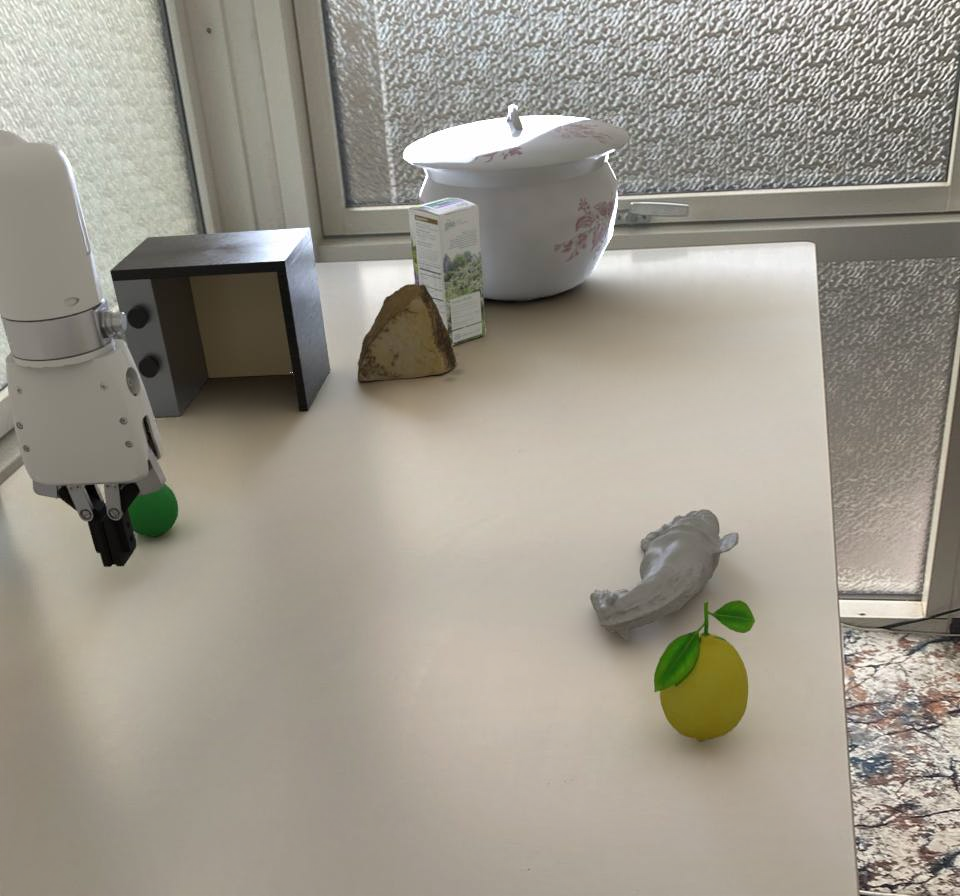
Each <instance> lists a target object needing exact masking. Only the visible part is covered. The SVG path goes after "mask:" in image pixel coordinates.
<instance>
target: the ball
mask: <svg viewBox="0 0 960 896" xmlns="http://www.w3.org/2000/svg"><path fill="white" fill-rule="evenodd" d="M128 512H129V516H130V520H131V524H132V527H133V531H134V533H136V534H137V535H139V536H143V537H150V538H152V537H153V538H154V537H158V536H162V535H164V534H166V533H167V532H169V530H171V529H172V528H173V526H174V525H175V523H176V521H177V519H178V515H179V502H178V499H177V496H176V495H175V493H174V490H172V489H171V487H169V485H168V484H166V483H165V484H164V485H163V487H162V488H161V489H160V490H159V491H156V492H153V493H149V494H146V495H143V496H142V495H141V496H138V497H136V498H135V500H134V501H133V502H132V504H131V505H130V506H129V508H128Z"/></svg>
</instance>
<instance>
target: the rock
mask: <svg viewBox="0 0 960 896" xmlns="http://www.w3.org/2000/svg"><path fill="white" fill-rule="evenodd" d="M453 347H454V346H452V344H451V339H450V335H449V332H448V330H447V329H446V327H445V325H444V323H443V320H442V317H441V316H440V313H439V311H438V308H437V306H436V304H435V303H434V301H433V298H432V296H431V295H430V294H429V292H428V291H427V289H426V286H425V285H419V286H416V285H415V283H412V284H411V283H410V284H405V285H404V286H401V287H400V288H399V289H398V290H395V291H394V292H393V293H391V294H390V295H387V296H386V297H385V298H384V300H383V303H382V306H381V308H380V310H379V311H378V314H377V315H376V317H375V319H374V322H373V323H372V325H371V327H370V330H369V331H368V332H367V333H366V334H365V335H364V337H363V340H362V343H361V348H360V349H361V350H360V355H359V357H358V361H357V367H358V368H357V380H358V382H370V381H371V382H372V381H392V380H399V379H414V378H421V377H427V376H435V375H441V374H446V373H447V372H448V371H450V370H452V369H453V368H455V366H456V364H457V363H458V359H457V357H456V354H455V349H454V348H453Z"/></svg>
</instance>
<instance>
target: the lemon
mask: <svg viewBox="0 0 960 896" xmlns="http://www.w3.org/2000/svg"><path fill="white" fill-rule="evenodd" d="M709 615H710V616H712V617H714V618H715V619H716V620H717V621H718V622H719V623H720V624H722V625H723V626H725V627H726V629H728V630H730V631H733V632H736V633H738V634H739V633H740V634H746V633H748V632H750V631H751V630H752V628H753V627H754V624H755V623H756V620H755V616H754V614H753V612H752V610H751V608H750V606H749V605H748V604H747V603H746V602H745V601H743V600H741V599H738V600H737V599H736V600H732V601H729V602H726V603H725V604H723V605H722V606H721V607H719V608H718V609H716V610H715V611H714V612H712V611H709V601H705V602H704V603H703V617H704V618H703V619H704V621H703V623H702V624H701V626H700V627H698V628H697V630H694V631H690V632H688V633H684V634H681V635H679V636H678V637H676V638H675V639H674V640H672V641H671V642H670V643H669V644H668V645H667V646H666V648H665V650H664V651H663V653H662V654H661V655H660V657H659V659H658V662H657V665H656V666H655V670H654V674H653V685H654V689H653V692H654V693H657V692H659V700H660V706H661V709H662V711H663V714H664V716H665V719H666V720H667V722H668V723H669V724H670V726H671V727H672V728H673V729H674V730H675V731H676V732H677V733H679V734H680V735H682V736H684V737H686V738H690V739H695V740H696V741H697V742H704V741H706V740H711V739H716V738H719V737H722V736H726V735H727V734H728V733H730V732H731V731H733V730H734V729H735V728H736V727H737V726H738V725H739V723H740V722H741V721H742V719H743V717H744V715H745V713H746V710H747V707H748V699H749V677H748V673H747V669H746V666H745V662H744V661H743V658H742V657H741V655H740V654H739V652H738V650H737V649H736V647H735V646H734V645H733V644H731V642H729V641H728V640H726V639H725V638H724V637H722V636H719V635H718V634H713V633H710V632H709ZM702 629H703V632H700V631H702Z"/></svg>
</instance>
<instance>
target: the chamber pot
mask: <svg viewBox="0 0 960 896" xmlns="http://www.w3.org/2000/svg"><path fill="white" fill-rule="evenodd" d="M629 139H630V136H629V134H628V132H627V130H625V128H624V127H621V126H618V125H616V124H613V123H610V122H605V121H602V120H599V119H592V118H587V117H580V116H566V115H523V116H520V114H519V112H518V106H517V105H515V104H514V103H512V104H510V105H508V113H507V117H500V118H493V119H486V120H479V121H475V122H471V123H470V122H469V123H465V124H461V125H457V126H453V127H449V128H446V129H443V130H440V131H436V132H434V133H431V134H428V135H426V136H425V137H423V138H419V139H418V140H416V141H414V142H412V143H411V144H409V145H408V146H406V148H405V149H404V151H403V157H402V159H404V160H405V161H407V162H408V163H410V164H411V165H413V166H414V167H416V168H420V169H423V172H424V173H425V178H424V181H423V183H422V186H421V189H420V191H419V205H422V204H426V203H429V202H433V201H437V200H441V199H444V198H459V199H463V200H466V201H469V202H471V203H474V204H476V205H477V206H478V208H479V225H480V243H481V261H482V279H483V296H484V299H486V300H491V301H497V302H525V301H534V300H540V299H545V298H550V297H554V296H556V295H559V294H562V293H564V292H566V291H568V290H571V289H573V288H575V287H577V286H578V285H581V284H582V283H585V282H586V280H587V279H588V278H589V277H590V275H591V274H592V273H593V272H594V271H595V269H596V268H597V266H598V263H599V262H600V260H601V258H602V256H603V254H604V253H605V250H606V249H607V247H608V245H609V243H610V241H611V239H612V237H613V234H614V226H615V222H616V216H617V210H618V204H619V201H618V200H619V199H618V198H619V197H618V194H619V193H618V191H619V189H618V187H619V186H618V179H617V177H616V175H615V173H614V170H613V169H612V167H611V165H610V163H609V162H608V161H609V157H610V155H611V153H613V152H615V151H618V150H619V149H621V147H623V146H624V144H626V143H627V141H628V140H629Z"/></svg>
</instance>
